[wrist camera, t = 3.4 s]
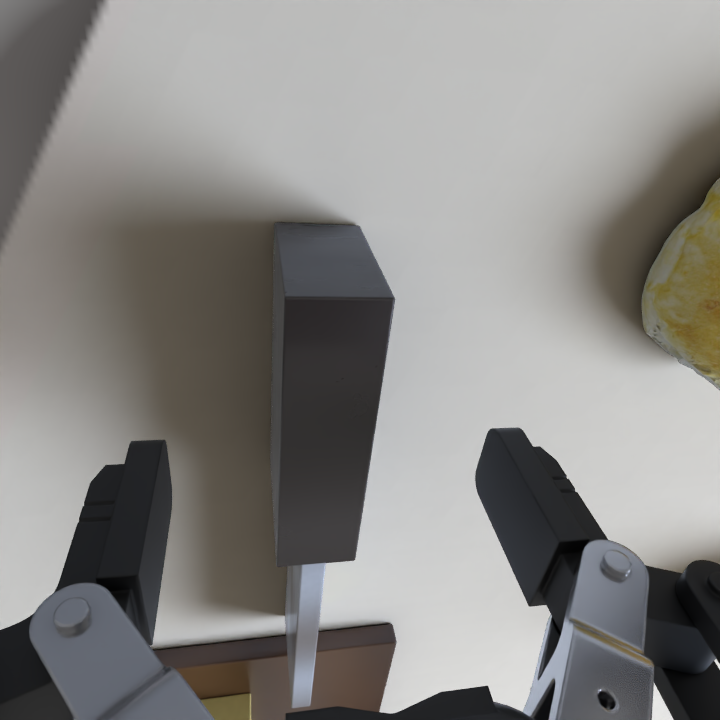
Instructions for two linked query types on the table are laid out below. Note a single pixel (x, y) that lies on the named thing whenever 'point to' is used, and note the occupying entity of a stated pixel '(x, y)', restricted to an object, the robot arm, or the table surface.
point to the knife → (322, 413)
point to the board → (271, 675)
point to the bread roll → (688, 291)
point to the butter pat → (229, 707)
